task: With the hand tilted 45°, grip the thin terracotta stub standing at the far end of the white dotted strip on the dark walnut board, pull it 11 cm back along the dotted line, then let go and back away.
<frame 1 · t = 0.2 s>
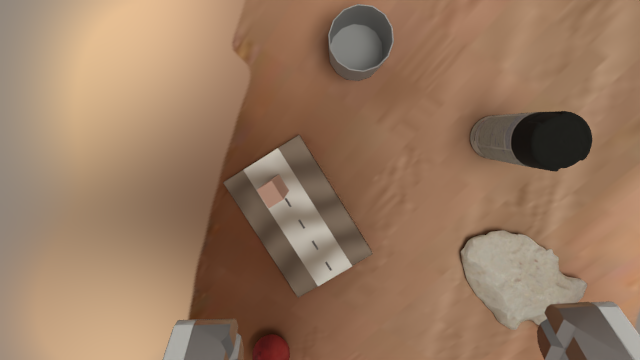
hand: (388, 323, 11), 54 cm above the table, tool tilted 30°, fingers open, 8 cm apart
fragment: (511, 278, 66), on the table
board with dashed strip: (299, 216, 66), on the table
cup: (356, 53, 62), on the table
spray can: (489, 137, 64), on the table
onion: (274, 341, 68), on the table
stub: (274, 190, 59), point 6 cm above the table, slide at 0.0 cm
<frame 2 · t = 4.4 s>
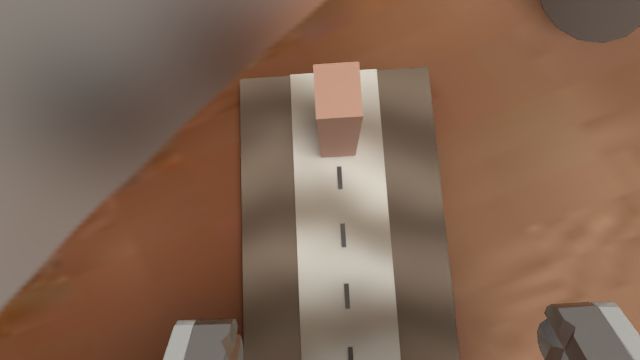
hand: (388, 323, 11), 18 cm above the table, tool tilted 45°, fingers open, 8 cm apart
board with dashed strip: (342, 222, 30), on the table
stub: (337, 116, 25), point 6 cm above the table, slide at 0.0 cm
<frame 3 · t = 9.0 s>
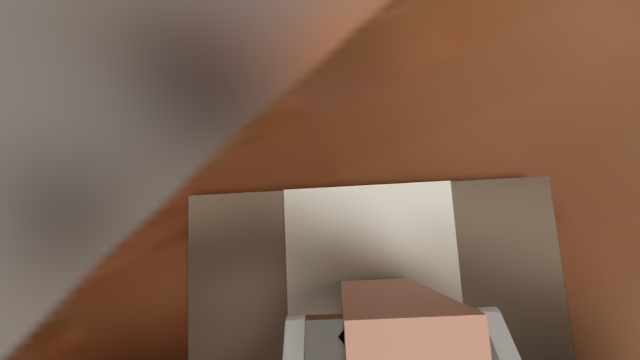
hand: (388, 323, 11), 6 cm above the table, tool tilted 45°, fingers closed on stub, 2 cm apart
stub: (391, 350, 11), point 6 cm above the table, slide at 0.0 cm, touching gripper
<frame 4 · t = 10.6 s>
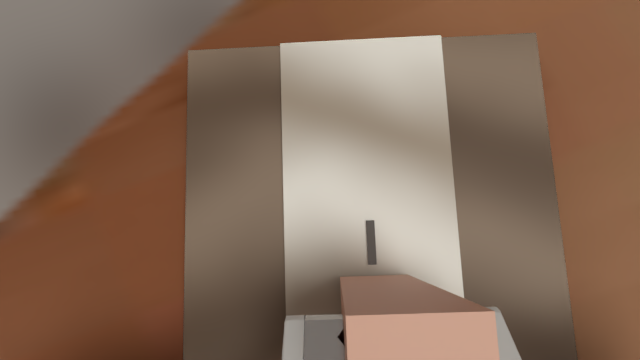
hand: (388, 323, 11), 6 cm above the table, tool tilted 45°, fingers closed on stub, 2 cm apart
board with dashed strip: (371, 318, 16), on the table
stub: (391, 348, 10), point 6 cm above the table, slide at 5.7 cm, touching gripper
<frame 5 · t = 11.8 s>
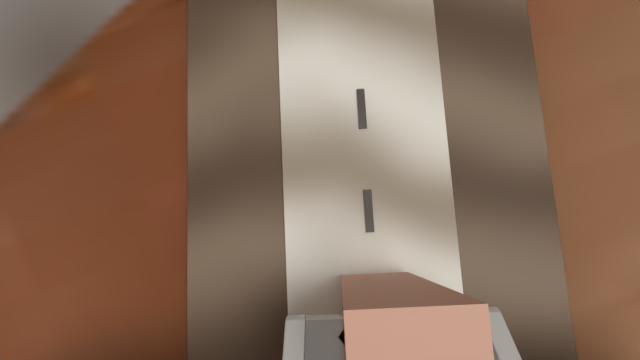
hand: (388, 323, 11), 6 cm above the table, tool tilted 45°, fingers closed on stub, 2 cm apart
board with dashed strip: (364, 190, 17), on the table
stub: (391, 343, 11), point 6 cm above the table, slide at 10.8 cm, touching gripper
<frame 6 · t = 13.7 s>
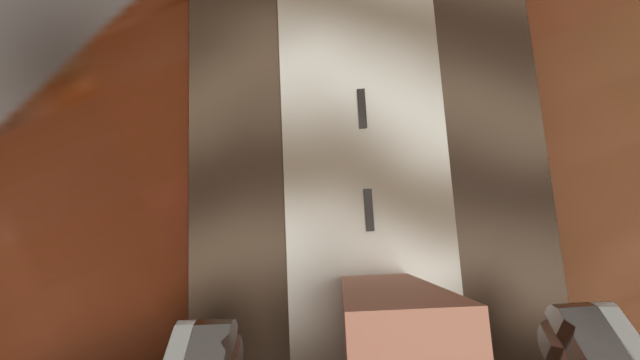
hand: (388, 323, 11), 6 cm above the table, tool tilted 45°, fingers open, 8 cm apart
board with dashed strip: (364, 189, 17), on the table
stub: (391, 345, 11), point 6 cm above the table, slide at 10.9 cm
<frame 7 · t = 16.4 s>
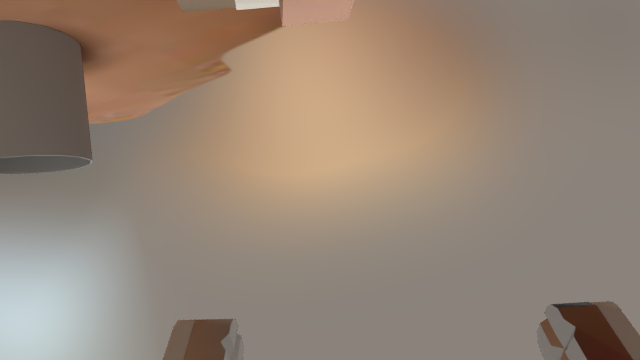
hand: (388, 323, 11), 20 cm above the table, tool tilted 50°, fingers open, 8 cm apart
cup: (21, 42, 33), on the table
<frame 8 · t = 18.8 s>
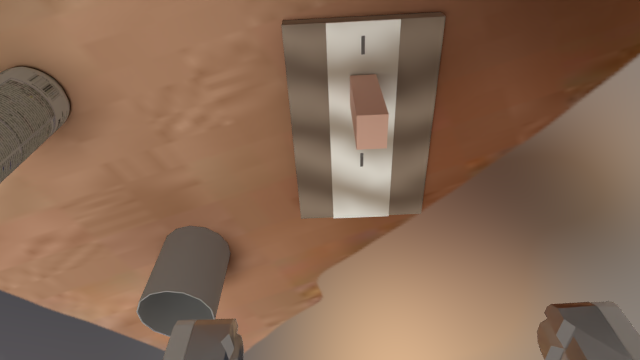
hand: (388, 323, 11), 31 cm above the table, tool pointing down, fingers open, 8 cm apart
board with dashed strip: (360, 126, 42), on the table
cup: (198, 248, 53), on the table
spray can: (38, 96, 40), on the table
stub: (367, 109, 35), point 6 cm above the table, slide at 10.9 cm
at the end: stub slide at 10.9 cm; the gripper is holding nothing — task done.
